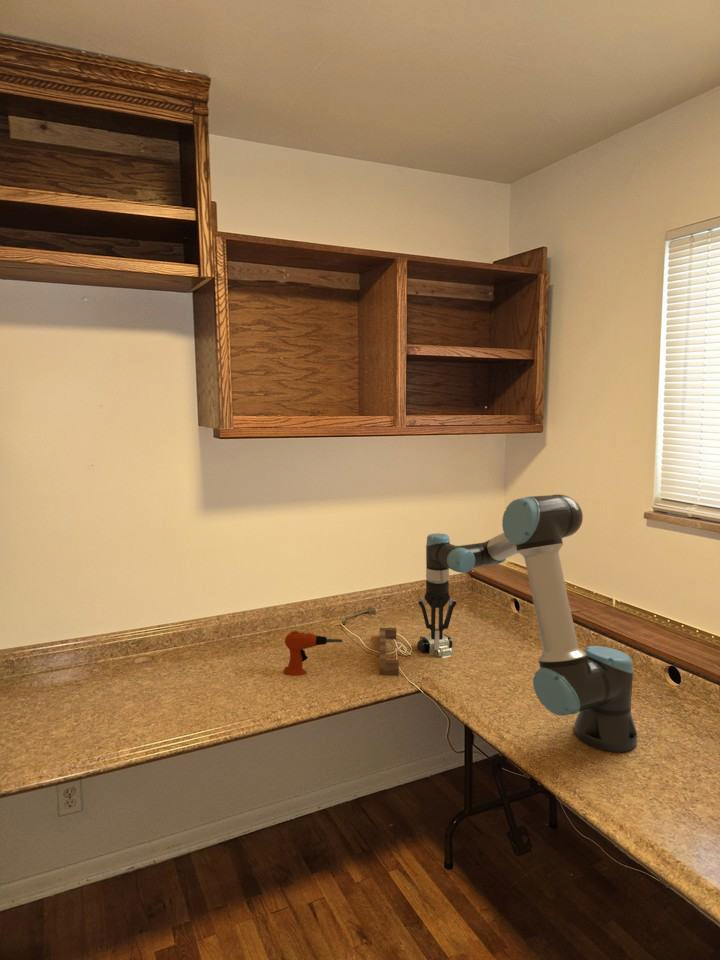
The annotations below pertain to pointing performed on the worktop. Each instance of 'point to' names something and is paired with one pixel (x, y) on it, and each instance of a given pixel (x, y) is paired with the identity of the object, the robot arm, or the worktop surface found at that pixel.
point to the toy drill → (301, 650)
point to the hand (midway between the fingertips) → (436, 648)
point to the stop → (385, 665)
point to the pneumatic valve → (428, 646)
